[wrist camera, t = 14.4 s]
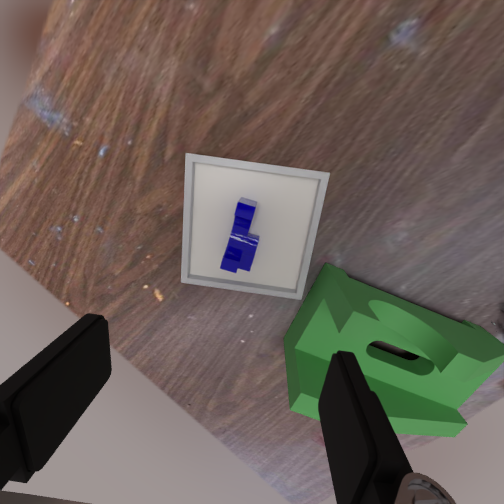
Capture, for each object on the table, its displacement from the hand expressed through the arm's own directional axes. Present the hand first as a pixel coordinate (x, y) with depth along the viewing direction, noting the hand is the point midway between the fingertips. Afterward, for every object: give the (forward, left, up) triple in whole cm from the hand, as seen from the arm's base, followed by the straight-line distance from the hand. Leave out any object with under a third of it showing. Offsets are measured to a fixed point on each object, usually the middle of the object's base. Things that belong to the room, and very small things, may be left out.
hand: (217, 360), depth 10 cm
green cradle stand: (-20, +13, -24) cm, 34 cm away
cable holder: (+1, +1, -22) cm, 23 cm away
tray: (0, 0, -23) cm, 23 cm away
